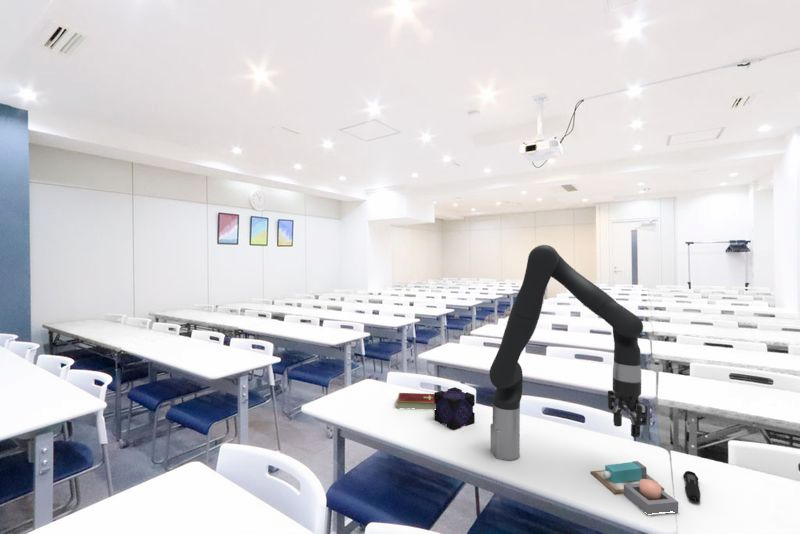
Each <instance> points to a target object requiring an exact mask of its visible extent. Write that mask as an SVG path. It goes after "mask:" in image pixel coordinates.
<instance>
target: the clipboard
mask: <svg viewBox="0 0 800 534" xmlns="http://www.w3.org/2000/svg"><path fill="white" fill-rule="evenodd" d="M604 471H605V469H603V470H591V471H590V474H591V475H592V476H593V477H594V478H595V479H597V480H598V481H599V482H600V483H601V484H602V485H603V486H604V487H605V488H607V489H608V490H609V491H610V492H611V493H612V494H613V495H624V485H625V484H638V483H640V480H637V481H629V482H621V483H612V482H611V481H610V480H609V479H608V478H605V477H604V476H603V472H604ZM647 479H649V480H652V481H655V482H657V483H658V484H659V482H658V481H657V480H656V479H654V478H653V477H651V476H650V475H649V474H647ZM660 486H661V489H662V490H663V491H665V487H663V486H662V485H660Z"/></svg>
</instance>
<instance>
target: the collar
mask: <svg viewBox="0 0 800 534" xmlns="http://www.w3.org/2000/svg"><path fill="white" fill-rule="evenodd" d="M639 486H640V483H638V484H625V485H624V494H623V496H624V497H626V498H627V499H628V500H629V501H630V502H631V501H632V502H631V503H632V504H633V505H634V506H636V505H637V506H638V507H639V510H641V509H642V510H643V511H644V512H646V513H647V514H652V513H659V512H670V511H673V512H675V513H674V514H679V501H678V500H676V498H674V497H673V496H671V495H670V494H668V493H667V492H665V490H662V489H661V499H660V500H650V499H647V498H645V497H644V496H642V495H641V494H640V492H639ZM637 506H636V507H637ZM638 507H637V508H638ZM642 510H641V511H642ZM643 511H642V512H643ZM644 512H643V513H644ZM647 514H646V515H647Z"/></svg>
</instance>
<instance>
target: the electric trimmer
mask: <svg viewBox="0 0 800 534" xmlns="http://www.w3.org/2000/svg"><path fill="white" fill-rule="evenodd" d="M682 476H683V478H684V481H685V486H684V491H685V494H686V495H687V496H686V497H687V499H688V500H690V501H693V502H697V503H699V502H700V500H701V490H700V487H699V477H698V475H696V473H695V472H694V471H692V470H691V471H690V470H686V471H685V472H684V473H683V475H682Z"/></svg>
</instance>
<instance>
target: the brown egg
mask: <svg viewBox="0 0 800 534" xmlns="http://www.w3.org/2000/svg"><path fill="white" fill-rule="evenodd" d="M657 482H658V481H657ZM657 482H655V481H652V480H649V479H641V480H640V486H639V492H640V494H641V495H642V496H644V497H645V498H646V499H647V500H649V501H650V500H660V499H661V486H662V485H661V484H660V483H659V482H658V483H657Z"/></svg>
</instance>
